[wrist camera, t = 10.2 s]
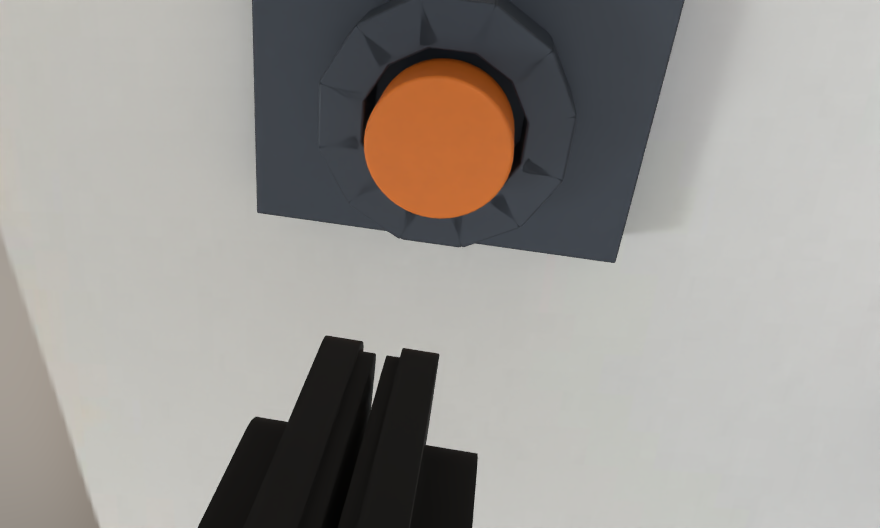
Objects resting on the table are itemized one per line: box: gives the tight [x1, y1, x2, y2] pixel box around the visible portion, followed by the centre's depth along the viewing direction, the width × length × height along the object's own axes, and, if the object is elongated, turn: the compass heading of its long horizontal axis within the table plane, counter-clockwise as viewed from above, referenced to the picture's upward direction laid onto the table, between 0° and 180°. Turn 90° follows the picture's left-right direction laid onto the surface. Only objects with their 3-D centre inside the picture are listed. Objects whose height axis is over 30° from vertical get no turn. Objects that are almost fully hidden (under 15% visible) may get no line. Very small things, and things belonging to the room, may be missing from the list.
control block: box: [252, 0, 685, 263], centre depth 20 cm, size 11×8×4 cm
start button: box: [364, 58, 515, 219], centre depth 18 cm, size 4×4×2 cm
